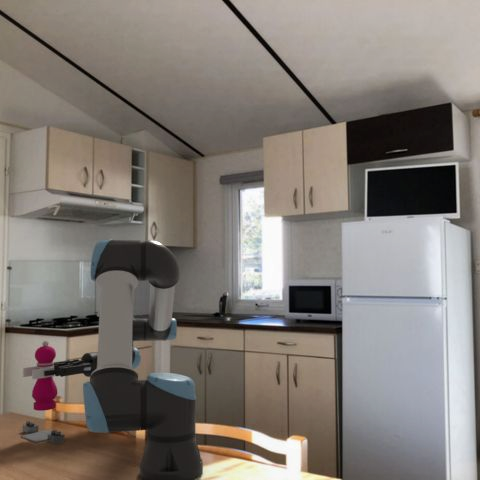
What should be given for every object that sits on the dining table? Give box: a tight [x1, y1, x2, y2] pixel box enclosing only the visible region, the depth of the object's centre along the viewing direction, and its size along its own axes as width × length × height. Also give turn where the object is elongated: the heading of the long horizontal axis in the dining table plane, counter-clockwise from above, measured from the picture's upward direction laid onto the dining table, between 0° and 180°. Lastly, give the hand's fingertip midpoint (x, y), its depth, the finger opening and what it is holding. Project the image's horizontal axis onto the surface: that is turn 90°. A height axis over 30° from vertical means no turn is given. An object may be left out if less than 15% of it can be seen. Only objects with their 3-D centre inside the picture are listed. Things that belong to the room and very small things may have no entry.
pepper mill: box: [31, 340, 58, 412], centre depth 167 cm, size 7×7×20 cm
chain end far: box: [22, 421, 40, 435], centre depth 170 cm, size 4×3×3 cm
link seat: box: [20, 429, 53, 444], centre depth 165 cm, size 9×9×1 cm
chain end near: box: [47, 429, 65, 445], centre depth 160 cm, size 4×3×3 cm
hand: (28, 373), depth 163 cm, fingers closed on pepper mill, 5 cm apart
